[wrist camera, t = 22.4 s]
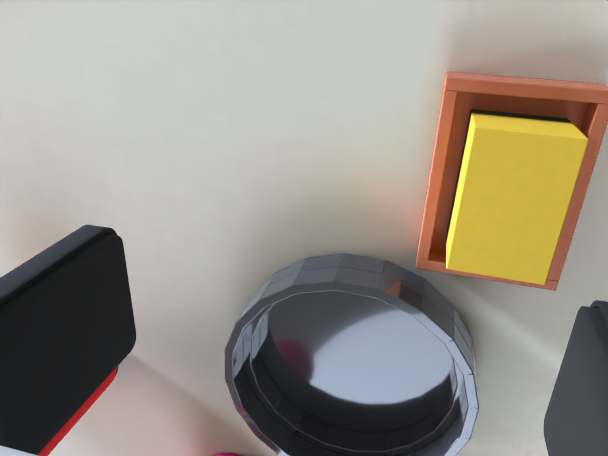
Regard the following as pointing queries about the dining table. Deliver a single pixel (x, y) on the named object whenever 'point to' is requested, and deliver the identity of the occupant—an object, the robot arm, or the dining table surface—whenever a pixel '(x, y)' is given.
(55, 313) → the robot arm
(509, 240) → the sponge
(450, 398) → the pan
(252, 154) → the dining table surface
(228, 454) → the pepper mill
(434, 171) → the soap dish
